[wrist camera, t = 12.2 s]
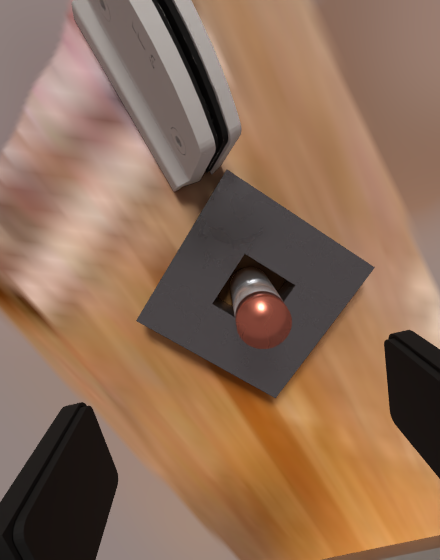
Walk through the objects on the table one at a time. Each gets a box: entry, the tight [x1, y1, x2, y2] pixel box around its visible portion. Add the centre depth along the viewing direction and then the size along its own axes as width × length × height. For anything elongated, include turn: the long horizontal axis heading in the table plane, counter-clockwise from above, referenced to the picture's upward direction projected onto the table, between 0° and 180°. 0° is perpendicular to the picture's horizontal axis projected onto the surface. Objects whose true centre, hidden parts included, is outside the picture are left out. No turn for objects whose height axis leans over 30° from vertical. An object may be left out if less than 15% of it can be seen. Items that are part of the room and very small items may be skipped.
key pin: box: [230, 267, 292, 349], centre depth 28 cm, size 4×4×10 cm
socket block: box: [136, 170, 375, 398], centre depth 31 cm, size 16×16×3 cm
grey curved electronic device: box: [72, 0, 241, 191], centre depth 24 cm, size 17×5×10 cm, turn 29°
